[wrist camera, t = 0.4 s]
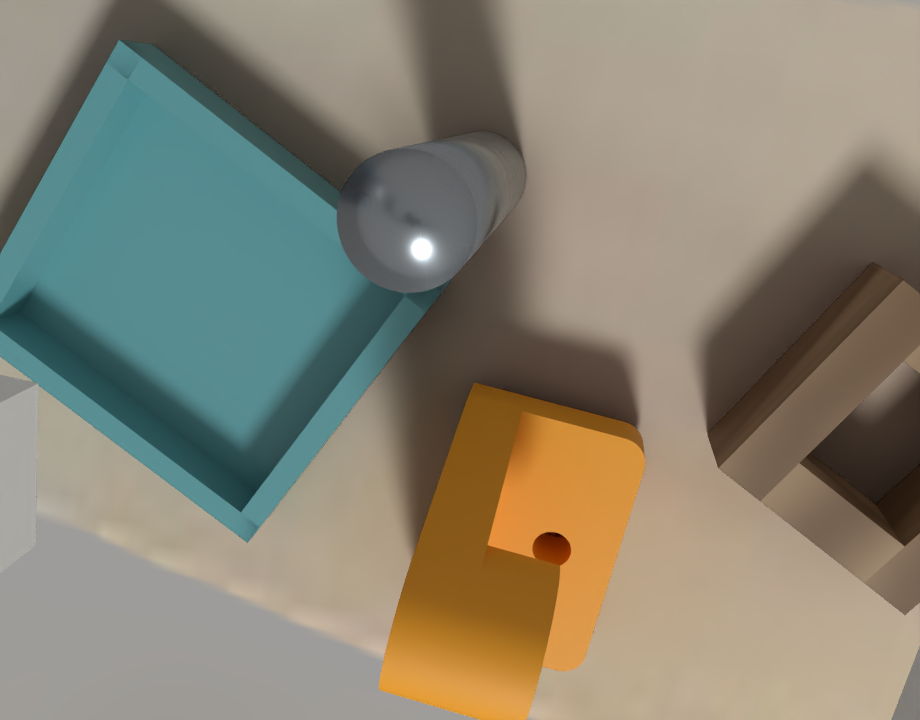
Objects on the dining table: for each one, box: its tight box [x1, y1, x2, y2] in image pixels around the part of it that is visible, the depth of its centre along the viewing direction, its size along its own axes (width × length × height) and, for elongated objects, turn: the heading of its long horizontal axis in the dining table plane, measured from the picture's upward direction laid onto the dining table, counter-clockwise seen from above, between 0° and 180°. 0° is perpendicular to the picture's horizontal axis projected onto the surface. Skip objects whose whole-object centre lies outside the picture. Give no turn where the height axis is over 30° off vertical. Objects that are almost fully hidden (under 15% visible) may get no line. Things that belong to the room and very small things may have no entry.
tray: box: [0, 40, 452, 543], centre depth 36 cm, size 15×14×2 cm
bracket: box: [379, 383, 645, 720], centre depth 32 cm, size 11×7×12 cm
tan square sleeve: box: [707, 262, 920, 615], centre depth 33 cm, size 9×9×4 cm
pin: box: [337, 131, 526, 293], centre depth 27 cm, size 3×3×14 cm
